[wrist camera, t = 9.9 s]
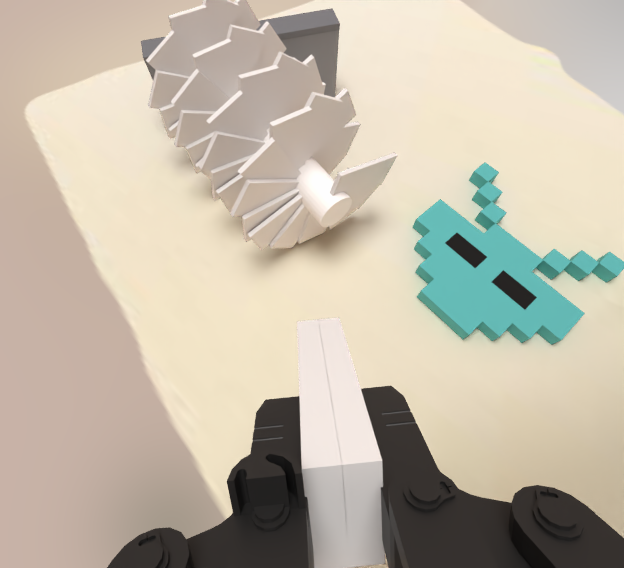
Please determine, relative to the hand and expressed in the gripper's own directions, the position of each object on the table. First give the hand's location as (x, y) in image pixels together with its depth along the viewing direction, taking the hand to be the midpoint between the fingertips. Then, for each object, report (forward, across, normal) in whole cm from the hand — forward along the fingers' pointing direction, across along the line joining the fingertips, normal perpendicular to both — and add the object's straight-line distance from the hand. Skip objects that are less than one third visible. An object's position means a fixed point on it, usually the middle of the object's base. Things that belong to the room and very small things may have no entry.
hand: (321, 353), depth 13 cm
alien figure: (+30, +22, -8) cm, 38 cm away
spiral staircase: (+39, -3, +3) cm, 39 cm away
